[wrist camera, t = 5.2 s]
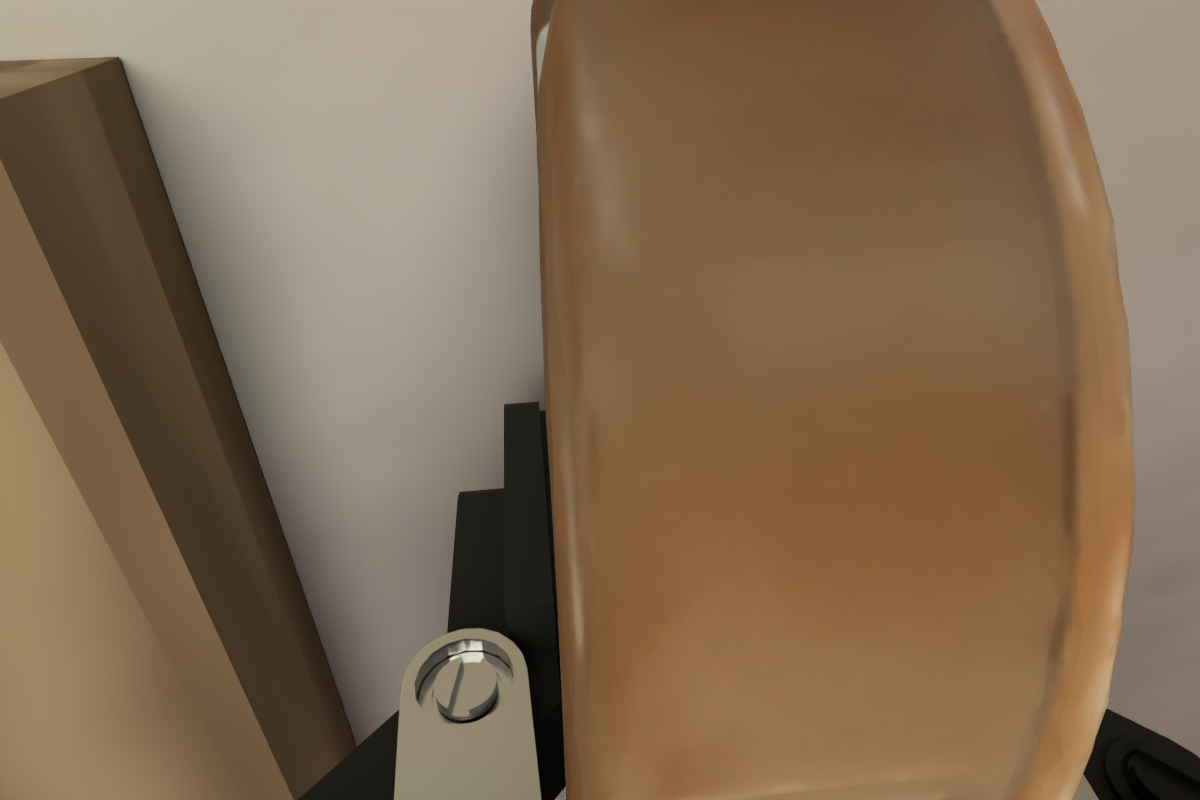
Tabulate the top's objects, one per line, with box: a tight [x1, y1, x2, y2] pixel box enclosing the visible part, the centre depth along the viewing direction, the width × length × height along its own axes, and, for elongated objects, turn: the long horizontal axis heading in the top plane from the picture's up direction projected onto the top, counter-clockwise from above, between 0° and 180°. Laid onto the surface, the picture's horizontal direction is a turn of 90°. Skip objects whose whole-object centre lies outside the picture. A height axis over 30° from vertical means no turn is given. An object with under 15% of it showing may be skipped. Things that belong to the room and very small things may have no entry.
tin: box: [531, 0, 1136, 800], centre depth 9 cm, size 15×3×8 cm, turn 1°
